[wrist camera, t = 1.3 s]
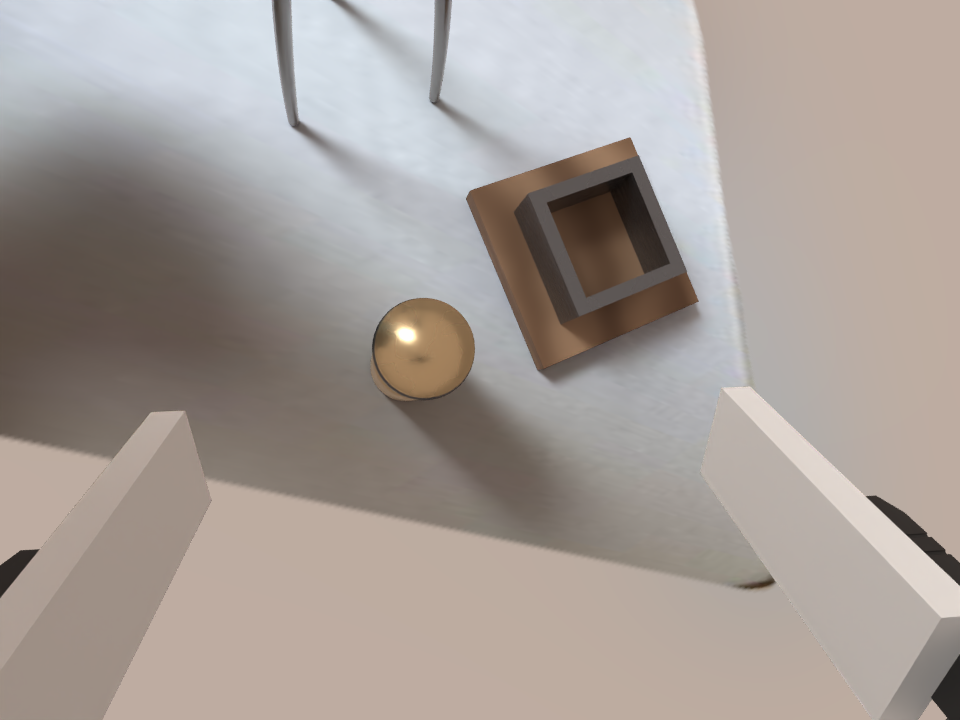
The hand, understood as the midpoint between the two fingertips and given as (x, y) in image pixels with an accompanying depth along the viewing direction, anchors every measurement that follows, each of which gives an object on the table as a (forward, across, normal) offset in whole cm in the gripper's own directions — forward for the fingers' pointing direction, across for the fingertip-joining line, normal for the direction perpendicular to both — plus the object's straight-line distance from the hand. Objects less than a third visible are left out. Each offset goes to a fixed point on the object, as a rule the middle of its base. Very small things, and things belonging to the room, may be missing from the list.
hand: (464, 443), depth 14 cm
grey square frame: (+28, +11, -3) cm, 30 cm away
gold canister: (+23, -3, -10) cm, 25 cm away
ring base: (+29, +11, -4) cm, 32 cm away
